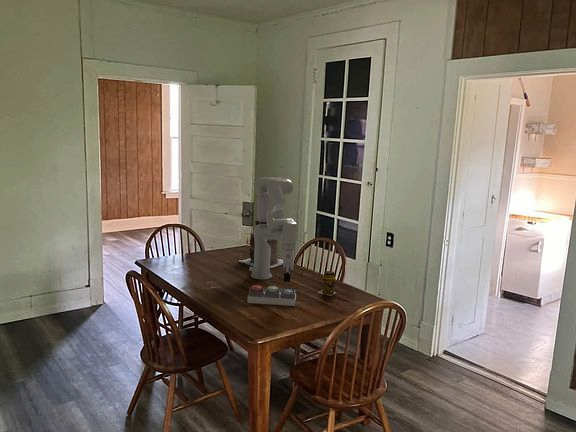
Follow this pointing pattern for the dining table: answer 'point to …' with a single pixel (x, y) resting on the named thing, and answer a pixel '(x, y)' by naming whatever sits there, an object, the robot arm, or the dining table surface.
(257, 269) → the robot arm
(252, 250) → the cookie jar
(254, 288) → the red button
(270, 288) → the sage button
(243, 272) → the dining table surface
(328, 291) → the condiment
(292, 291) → the blue button
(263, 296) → the button housing
